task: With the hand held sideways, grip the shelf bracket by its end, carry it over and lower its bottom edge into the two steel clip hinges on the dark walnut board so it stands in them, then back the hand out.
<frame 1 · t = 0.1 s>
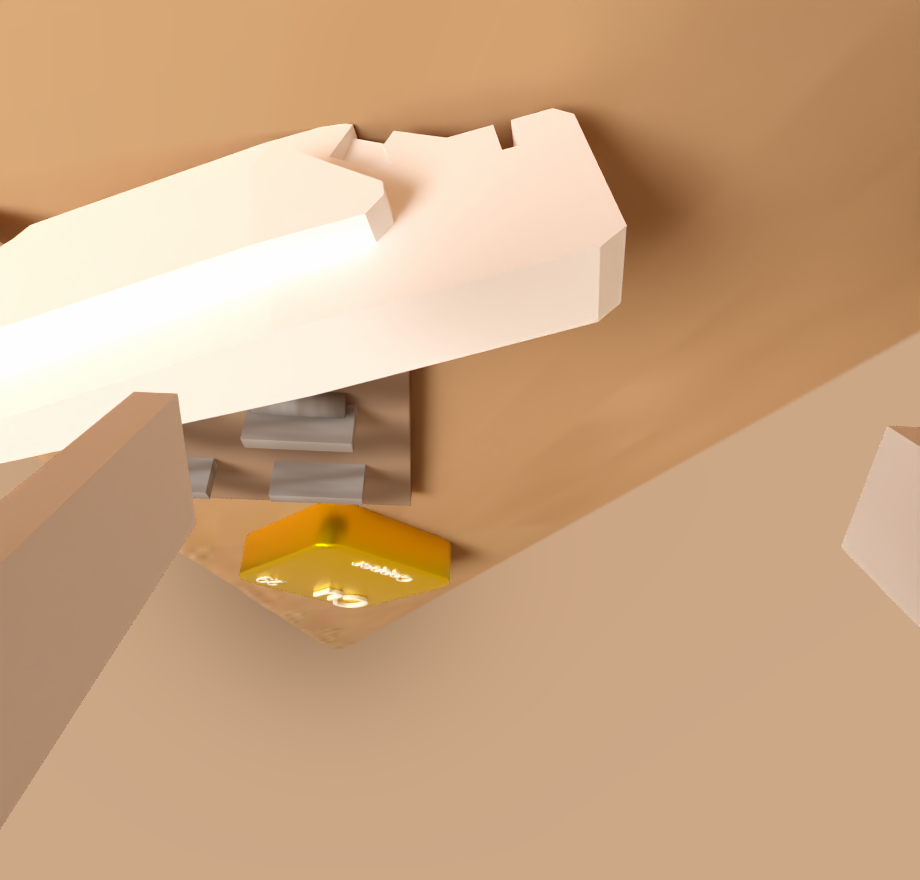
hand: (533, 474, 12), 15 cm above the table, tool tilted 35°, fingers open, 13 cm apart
element tile: (350, 535, 61), on the table
shelf bracket: (249, 172, 25), on the table
hinge board: (252, 415, 40), on the table
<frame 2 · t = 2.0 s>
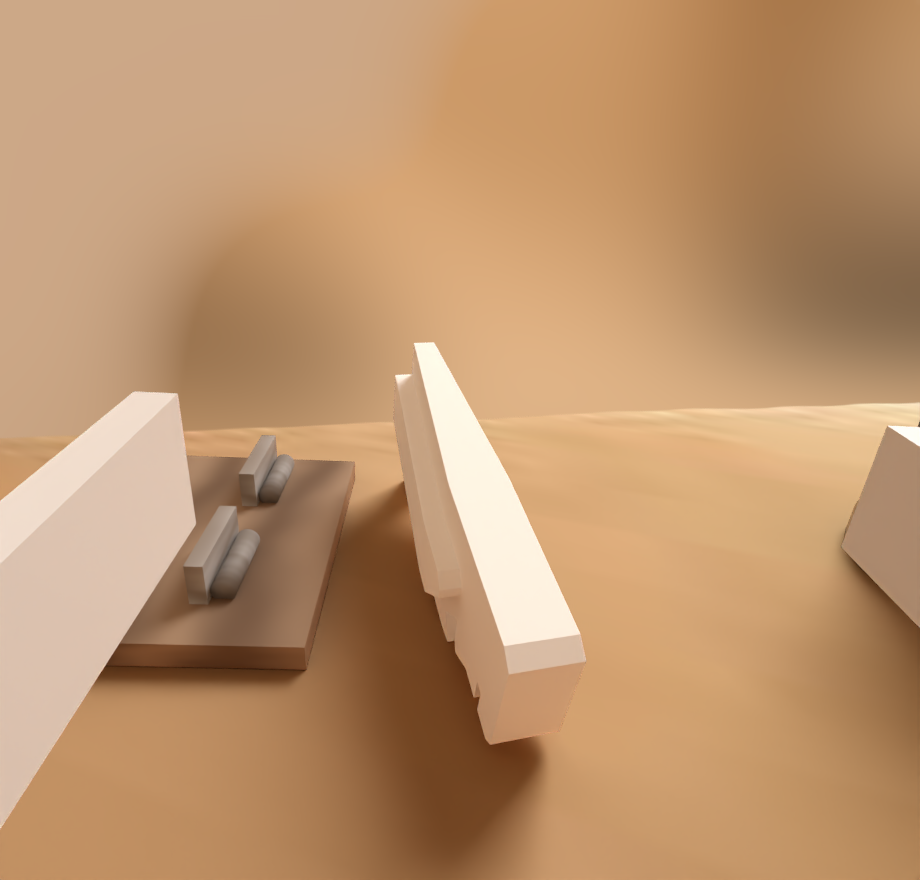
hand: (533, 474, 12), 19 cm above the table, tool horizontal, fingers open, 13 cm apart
shelf bracket: (454, 589, 39), on the table
hinge board: (180, 548, 41), on the table
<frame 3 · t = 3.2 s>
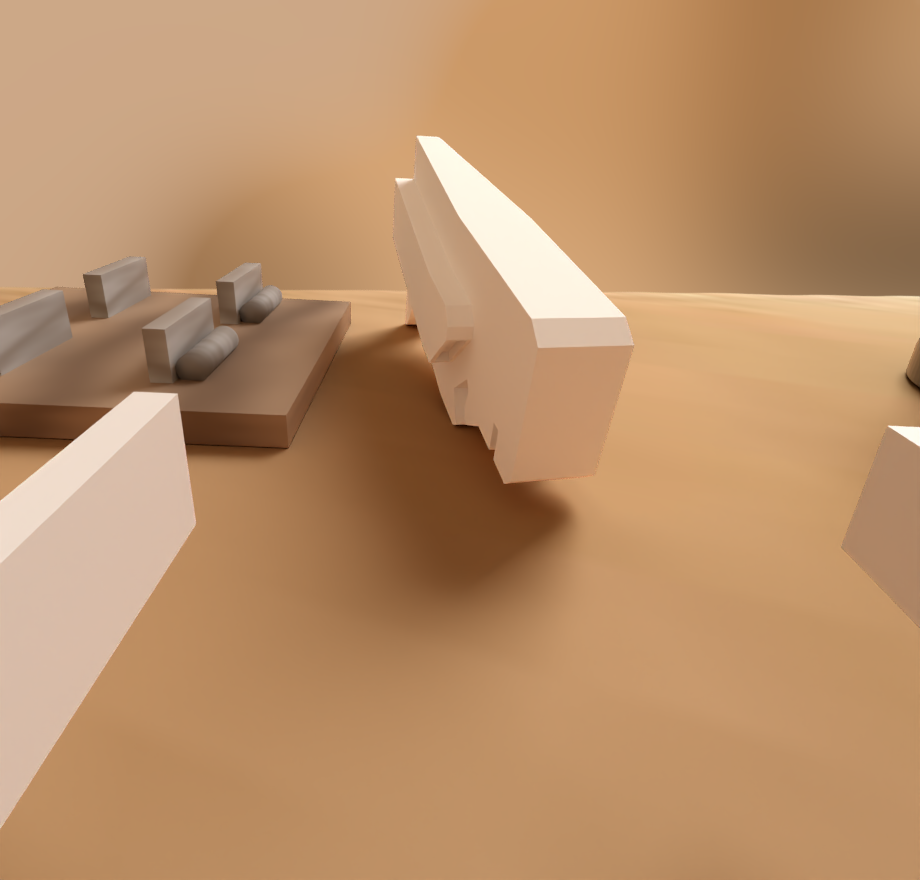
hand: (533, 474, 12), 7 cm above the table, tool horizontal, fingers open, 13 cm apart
shelf bracket: (462, 394, 34), on the table
hinge board: (147, 361, 35), on the table
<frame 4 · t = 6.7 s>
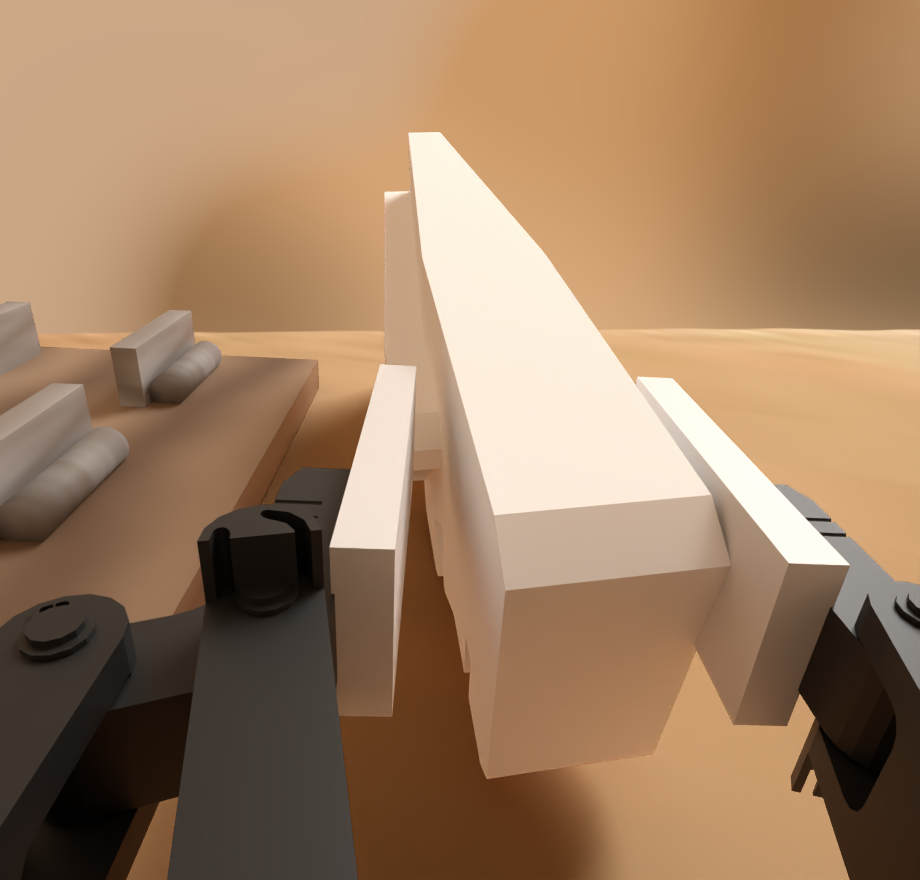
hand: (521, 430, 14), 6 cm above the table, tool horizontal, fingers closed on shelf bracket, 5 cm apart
shelf bracket: (466, 502, 24), on the table, touching gripper
hinge board: (1, 470, 24), on the table
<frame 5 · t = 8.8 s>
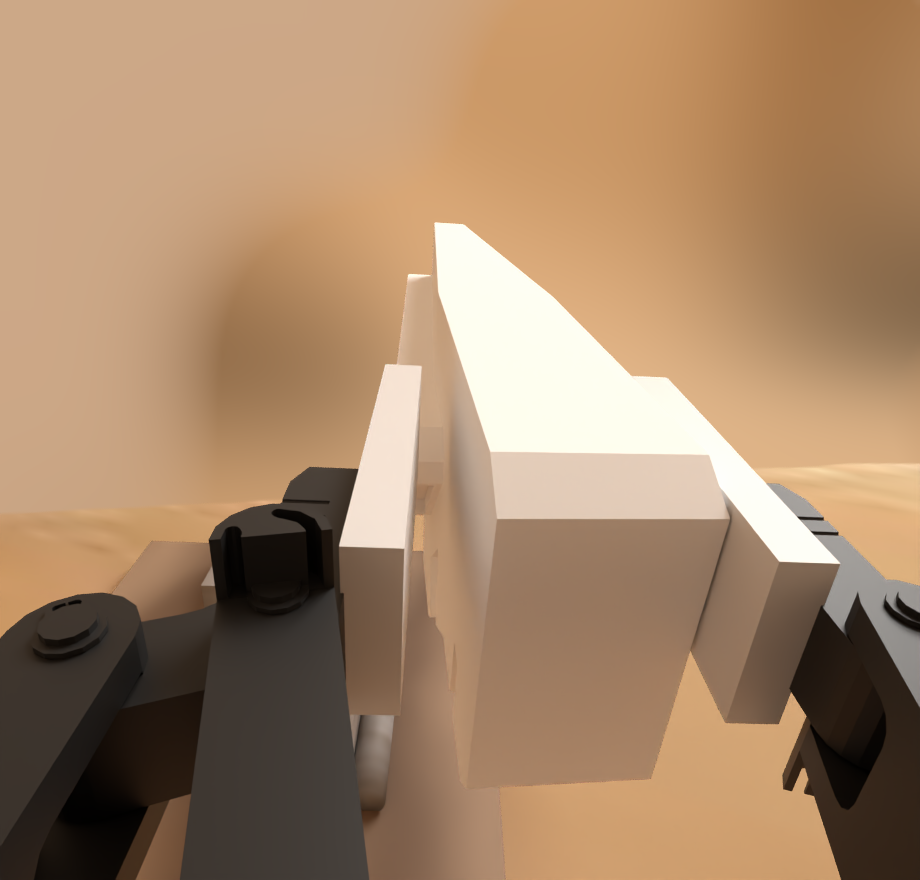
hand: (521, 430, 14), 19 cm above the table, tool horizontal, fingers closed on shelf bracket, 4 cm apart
shelf bracket: (464, 560, 23), point 10 cm above the table, touching gripper
hinge board: (279, 696, 30), on the table
when the fingers open (10 cm above the table, at t = 11.2 s): shelf bracket stays where it is, resting on hinge board.
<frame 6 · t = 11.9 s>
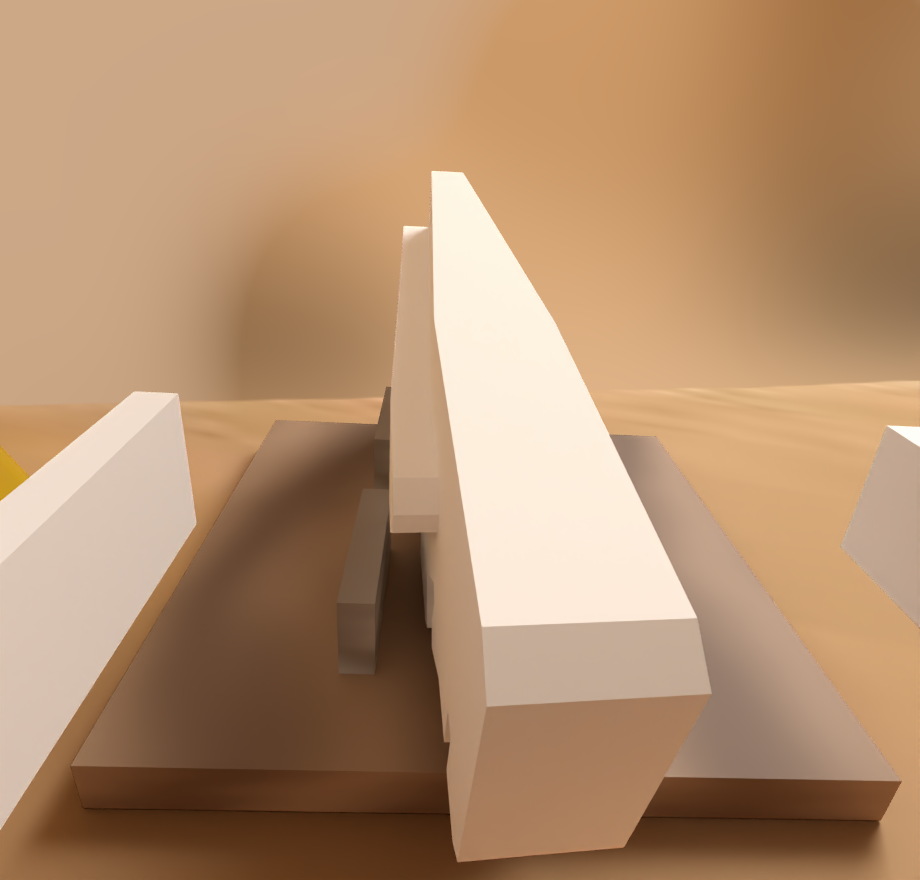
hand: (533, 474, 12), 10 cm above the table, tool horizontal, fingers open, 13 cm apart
shelf bracket: (460, 547, 24), point 1 cm above the table, touching hinge board
hinge board: (475, 568, 25), on the table
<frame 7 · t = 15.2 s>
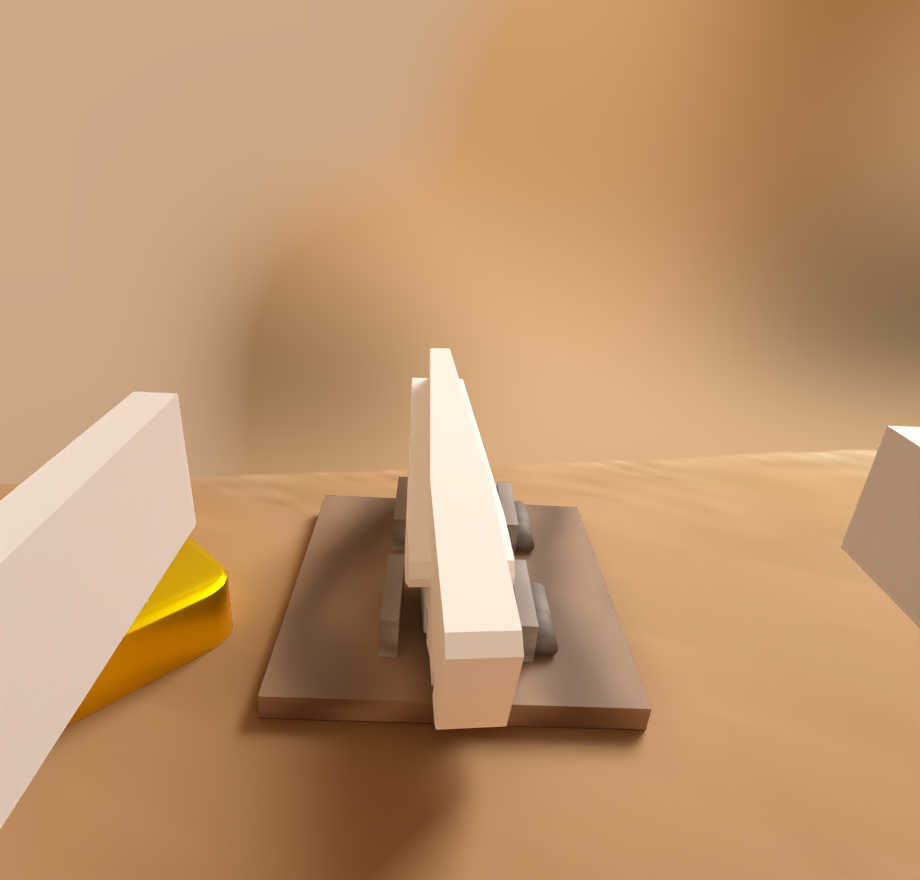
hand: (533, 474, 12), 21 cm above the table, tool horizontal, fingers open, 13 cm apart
element tile: (63, 636, 37), on the table
shelf bracket: (444, 586, 41), point 1 cm above the table, touching hinge board
hinge board: (452, 598, 42), on the table
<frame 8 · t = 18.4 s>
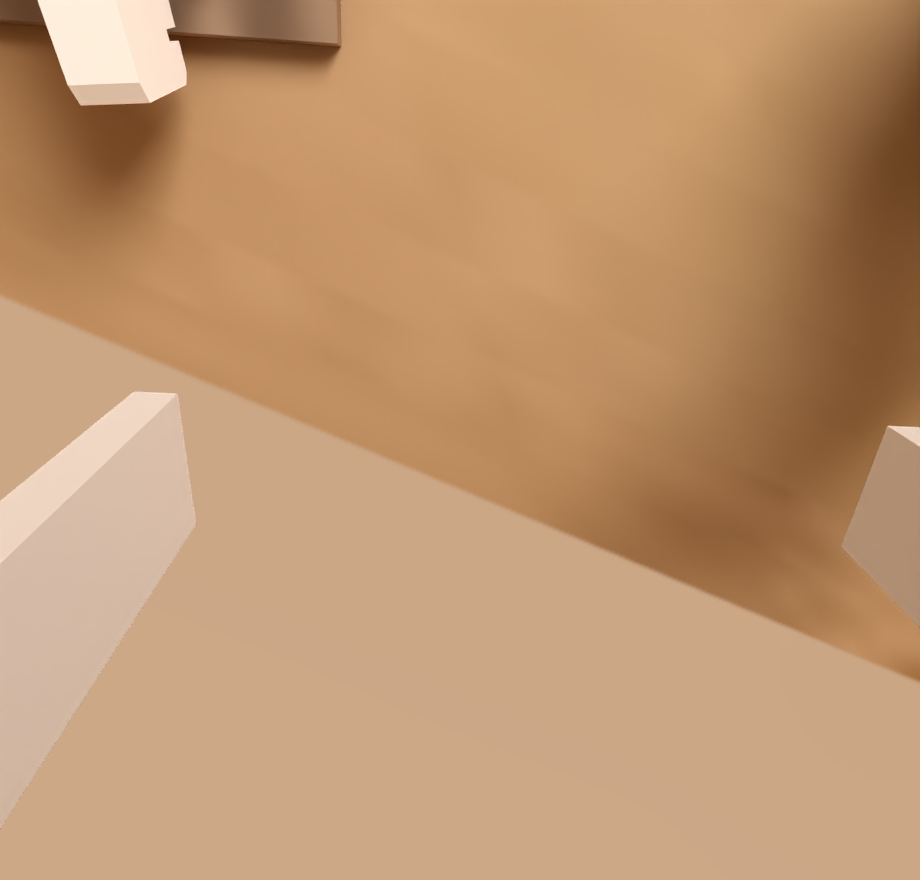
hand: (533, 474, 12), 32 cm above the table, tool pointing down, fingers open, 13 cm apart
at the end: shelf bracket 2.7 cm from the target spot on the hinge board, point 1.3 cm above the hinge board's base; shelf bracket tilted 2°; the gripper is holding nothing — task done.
